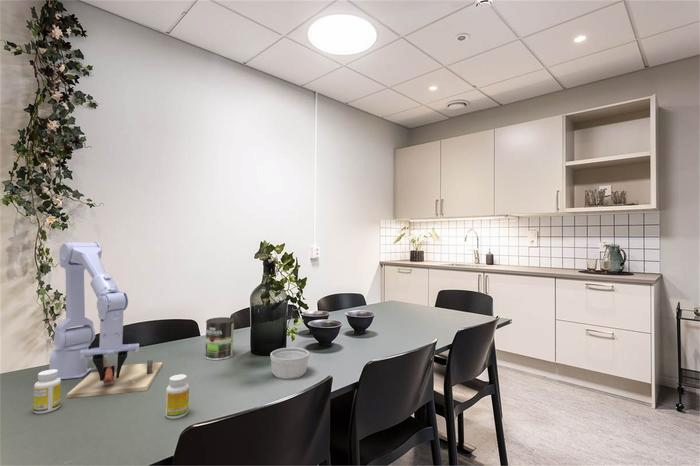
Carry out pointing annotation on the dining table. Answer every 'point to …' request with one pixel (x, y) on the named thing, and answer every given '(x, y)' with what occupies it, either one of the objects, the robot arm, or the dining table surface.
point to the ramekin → (289, 362)
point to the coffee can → (219, 338)
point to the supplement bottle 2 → (177, 397)
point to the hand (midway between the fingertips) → (109, 378)
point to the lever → (109, 374)
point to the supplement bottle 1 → (47, 392)
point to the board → (118, 380)
